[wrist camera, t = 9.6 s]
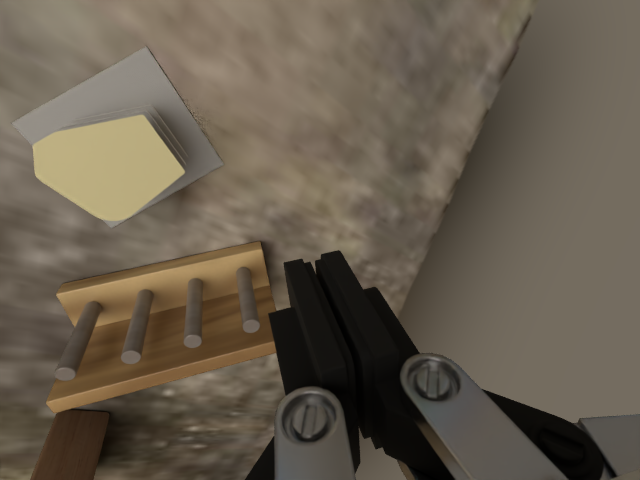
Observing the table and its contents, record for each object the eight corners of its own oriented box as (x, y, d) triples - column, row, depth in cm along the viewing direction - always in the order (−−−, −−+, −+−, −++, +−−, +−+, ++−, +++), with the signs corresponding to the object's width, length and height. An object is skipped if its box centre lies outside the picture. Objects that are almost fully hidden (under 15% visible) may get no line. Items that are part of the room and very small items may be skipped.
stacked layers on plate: (146, 46, 24) (131, 48, 19) (223, 164, 29) (227, 189, 24) (11, 122, 24) (-37, 143, 19) (111, 228, 29) (92, 265, 24)
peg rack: (61, 283, 30) (15, 362, 22) (259, 240, 32) (275, 298, 25) (87, 329, 32) (53, 414, 25) (269, 286, 35) (285, 350, 28)
